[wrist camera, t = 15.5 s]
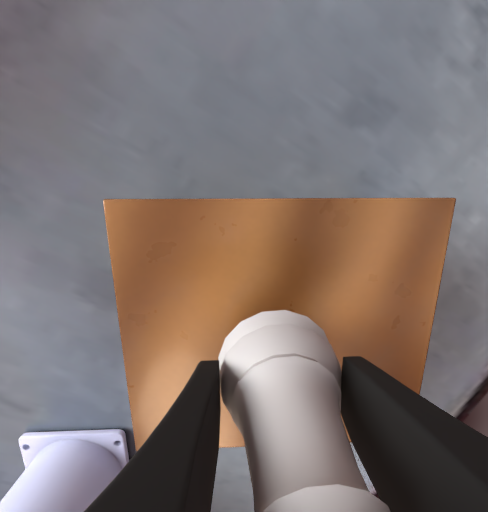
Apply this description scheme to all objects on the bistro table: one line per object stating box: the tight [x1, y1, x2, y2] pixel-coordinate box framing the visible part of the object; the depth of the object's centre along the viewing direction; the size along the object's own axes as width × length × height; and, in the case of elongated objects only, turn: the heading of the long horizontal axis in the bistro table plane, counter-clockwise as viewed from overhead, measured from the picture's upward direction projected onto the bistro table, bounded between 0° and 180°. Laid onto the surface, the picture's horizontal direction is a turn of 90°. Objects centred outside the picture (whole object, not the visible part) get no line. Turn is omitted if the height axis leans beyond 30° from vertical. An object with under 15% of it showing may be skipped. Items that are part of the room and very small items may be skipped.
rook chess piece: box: [218, 310, 390, 512], centre depth 6 cm, size 4×4×8 cm
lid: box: [103, 198, 456, 451], centre depth 11 cm, size 14×12×1 cm
